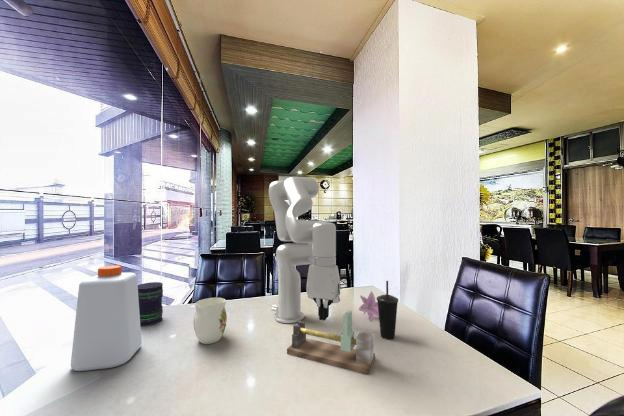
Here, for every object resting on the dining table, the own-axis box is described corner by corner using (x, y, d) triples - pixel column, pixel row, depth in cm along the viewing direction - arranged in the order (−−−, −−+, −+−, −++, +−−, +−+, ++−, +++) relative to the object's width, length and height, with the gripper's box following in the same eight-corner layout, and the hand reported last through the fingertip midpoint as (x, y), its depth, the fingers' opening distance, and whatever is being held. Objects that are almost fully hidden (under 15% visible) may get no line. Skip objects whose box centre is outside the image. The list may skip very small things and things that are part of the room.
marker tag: (340, 349, 79) (340, 314, 79) (345, 343, 83) (345, 309, 83) (350, 352, 77) (350, 316, 78) (354, 345, 81) (354, 311, 82)
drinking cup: (400, 342, 91) (399, 284, 91) (377, 340, 92) (376, 283, 93) (397, 332, 98) (396, 278, 99) (376, 331, 100) (375, 277, 100)
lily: (354, 323, 109) (363, 306, 106) (350, 303, 120) (359, 287, 117) (380, 331, 111) (390, 314, 107) (375, 310, 122) (384, 294, 118)
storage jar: (129, 324, 107) (129, 287, 107) (151, 315, 116) (152, 281, 116) (145, 328, 103) (146, 289, 104) (168, 318, 112) (168, 283, 113)
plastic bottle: (145, 343, 91) (146, 261, 92) (124, 368, 76) (125, 270, 77) (95, 348, 88) (96, 263, 88) (62, 375, 73) (64, 273, 74)
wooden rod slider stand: (286, 353, 84) (286, 326, 84) (300, 341, 92) (300, 316, 92) (368, 374, 73) (367, 343, 73) (375, 358, 81) (374, 330, 81)
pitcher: (232, 326, 104) (232, 291, 104) (220, 350, 86) (220, 307, 86) (203, 327, 103) (204, 292, 103) (185, 351, 85) (185, 308, 86)
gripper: (297, 261, 84) (297, 318, 84) (342, 265, 77) (342, 328, 77) (308, 257, 91) (307, 310, 91) (350, 261, 84) (349, 318, 84)
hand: (323, 318), depth 84 cm, fingers closed
